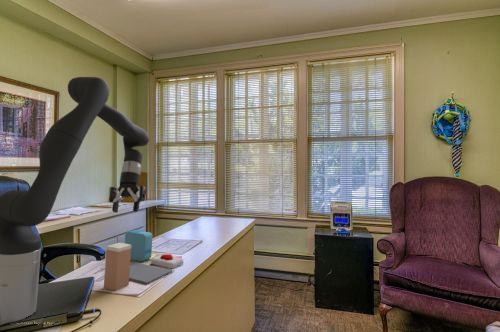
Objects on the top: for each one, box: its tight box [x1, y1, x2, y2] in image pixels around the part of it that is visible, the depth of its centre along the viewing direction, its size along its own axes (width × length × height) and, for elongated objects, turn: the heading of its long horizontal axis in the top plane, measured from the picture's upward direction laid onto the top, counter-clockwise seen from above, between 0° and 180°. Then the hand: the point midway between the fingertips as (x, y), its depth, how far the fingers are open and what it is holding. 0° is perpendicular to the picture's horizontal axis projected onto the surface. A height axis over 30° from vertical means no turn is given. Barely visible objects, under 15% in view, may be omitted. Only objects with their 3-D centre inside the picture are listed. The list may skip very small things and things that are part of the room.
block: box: [103, 242, 131, 292], centre depth 95 cm, size 6×6×14 cm
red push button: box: [150, 253, 184, 270], centre depth 121 cm, size 12×4×10 cm
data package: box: [124, 229, 153, 262], centre depth 125 cm, size 12×4×12 cm, turn 68°
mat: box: [129, 261, 173, 285], centre depth 108 cm, size 14×20×1 cm
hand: (125, 211), depth 110 cm, fingers open, 8 cm apart
